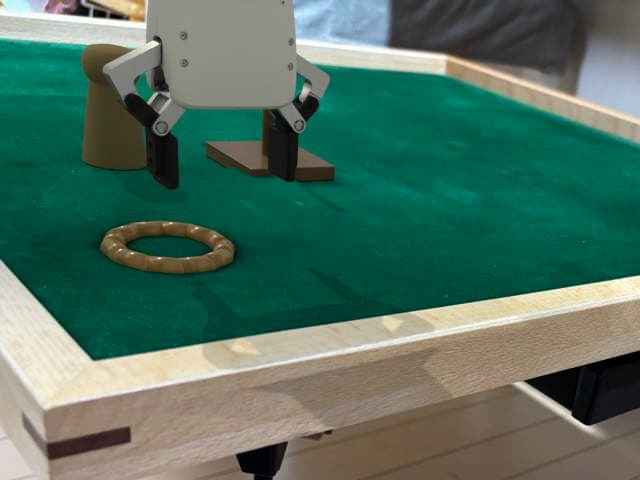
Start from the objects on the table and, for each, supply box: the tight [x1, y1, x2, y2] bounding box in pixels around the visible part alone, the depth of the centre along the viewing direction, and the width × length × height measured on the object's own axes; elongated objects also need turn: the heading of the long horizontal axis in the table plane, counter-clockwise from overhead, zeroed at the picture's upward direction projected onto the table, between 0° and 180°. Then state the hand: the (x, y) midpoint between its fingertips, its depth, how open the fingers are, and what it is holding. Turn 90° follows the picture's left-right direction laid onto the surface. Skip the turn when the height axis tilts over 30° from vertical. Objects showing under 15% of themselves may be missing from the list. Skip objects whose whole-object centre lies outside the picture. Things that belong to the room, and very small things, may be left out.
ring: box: [99, 220, 236, 275], centre depth 69 cm, size 10×10×2 cm
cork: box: [80, 43, 147, 171], centre depth 86 cm, size 6×6×11 cm
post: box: [205, 109, 336, 182], centre depth 93 cm, size 10×10×12 cm
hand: (226, 180), depth 69 cm, fingers open, 9 cm apart
